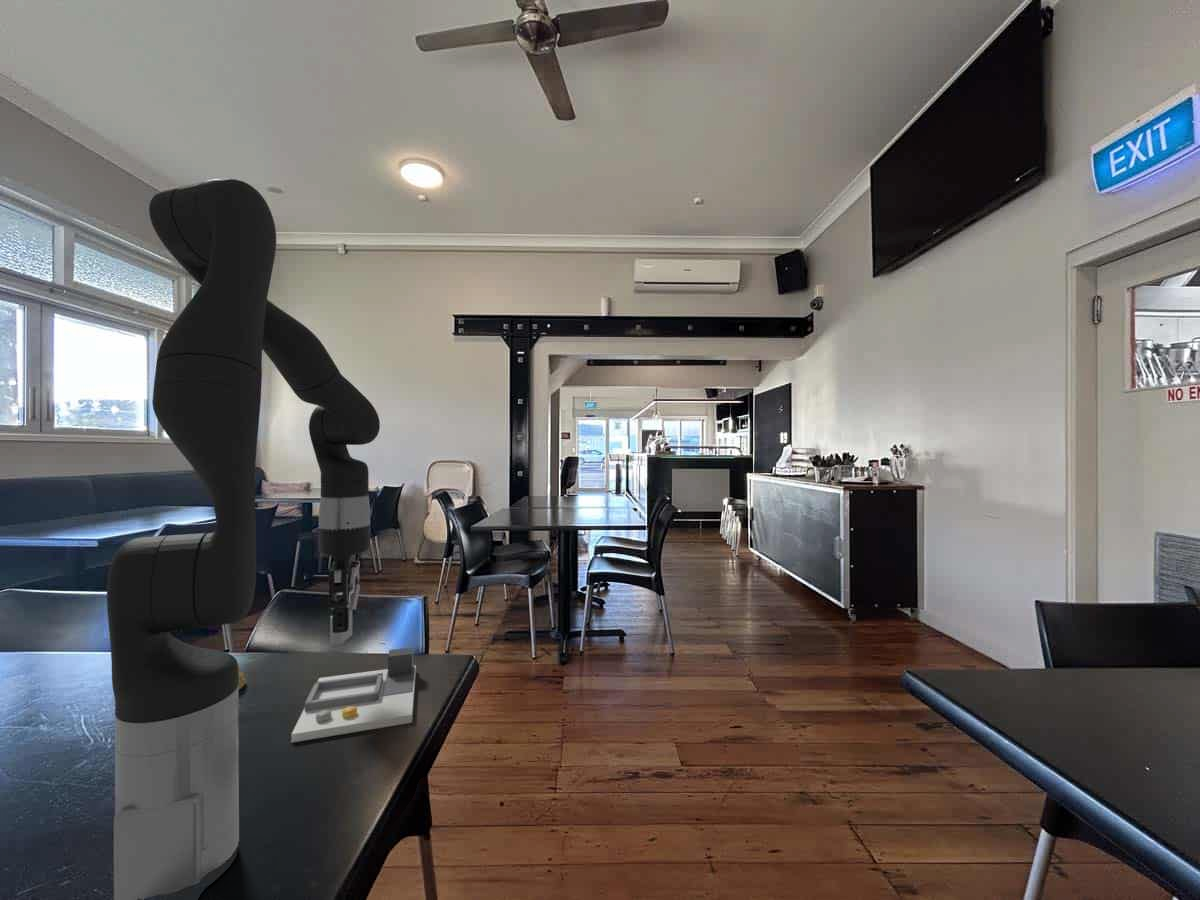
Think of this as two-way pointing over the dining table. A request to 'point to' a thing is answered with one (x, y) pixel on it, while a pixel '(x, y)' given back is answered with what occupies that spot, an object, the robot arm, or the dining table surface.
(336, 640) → the lighter
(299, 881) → the dining table surface
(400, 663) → the block
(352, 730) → the board
